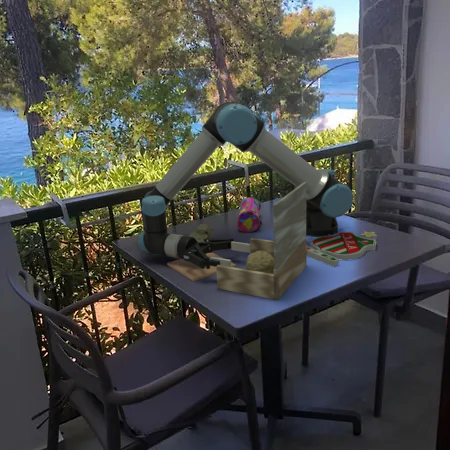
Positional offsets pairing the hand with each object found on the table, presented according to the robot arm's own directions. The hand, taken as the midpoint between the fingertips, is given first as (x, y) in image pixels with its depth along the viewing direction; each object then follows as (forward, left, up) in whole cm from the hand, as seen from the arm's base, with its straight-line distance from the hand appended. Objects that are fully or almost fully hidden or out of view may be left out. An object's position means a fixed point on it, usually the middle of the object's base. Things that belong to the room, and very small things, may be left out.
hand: (240, 256), depth 144 cm
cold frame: (-6, +3, -6) cm, 9 cm away
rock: (+14, -30, -6) cm, 33 cm away
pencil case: (-7, -46, -6) cm, 47 cm away
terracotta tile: (+12, -8, -6) cm, 16 cm away
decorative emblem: (-37, -16, -7) cm, 41 cm away
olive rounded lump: (-6, +3, -6) cm, 9 cm away
